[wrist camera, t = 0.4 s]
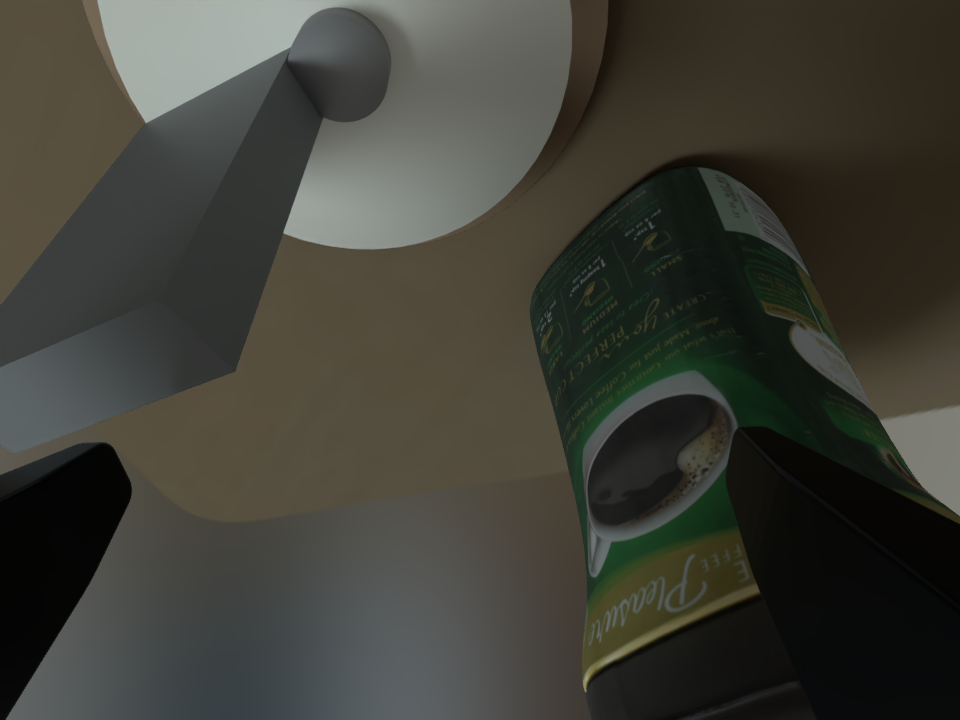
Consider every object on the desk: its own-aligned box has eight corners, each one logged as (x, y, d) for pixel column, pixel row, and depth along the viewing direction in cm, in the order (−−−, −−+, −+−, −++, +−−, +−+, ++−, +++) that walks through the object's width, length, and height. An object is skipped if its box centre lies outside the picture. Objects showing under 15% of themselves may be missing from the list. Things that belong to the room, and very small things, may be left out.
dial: (116, -382, 12) (-596, -608, 4) (648, -115, 15) (870, 70, 7) (120, 157, 20) (-122, 465, 11) (475, 263, 23) (485, 565, 15)
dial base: (83, -494, 12) (42, -517, 11) (700, -163, 16) (720, -153, 15) (101, 151, 21) (80, 176, 20) (493, 268, 25) (494, 295, 24)
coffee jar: (629, 380, 30) (765, 902, 17) (497, 300, 26) (536, 881, 13) (818, 240, 25) (1237, 838, 11) (685, 116, 21) (1068, 775, 8)
